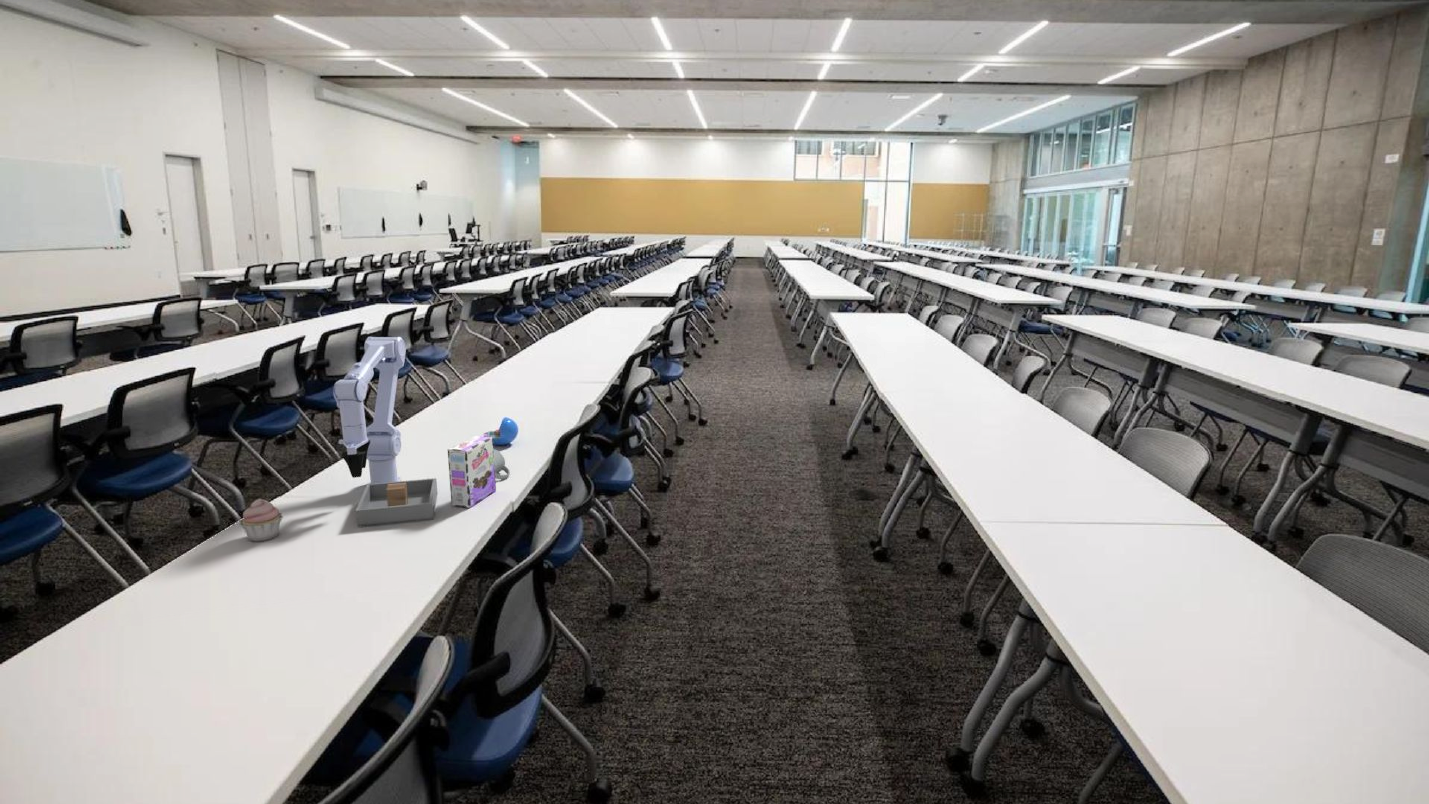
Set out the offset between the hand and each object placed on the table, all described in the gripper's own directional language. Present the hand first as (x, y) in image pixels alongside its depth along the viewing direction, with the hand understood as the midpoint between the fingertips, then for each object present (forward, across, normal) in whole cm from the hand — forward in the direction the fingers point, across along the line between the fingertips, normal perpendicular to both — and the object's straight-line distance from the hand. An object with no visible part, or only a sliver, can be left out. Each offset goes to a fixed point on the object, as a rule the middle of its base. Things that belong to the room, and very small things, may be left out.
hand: (359, 472), depth 201 cm
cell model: (+10, -48, +38) cm, 62 cm away
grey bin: (+9, +6, +10) cm, 15 cm away
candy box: (+10, +3, +29) cm, 31 cm away
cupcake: (+10, +16, -20) cm, 27 cm away
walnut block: (+9, +6, +10) cm, 14 cm away
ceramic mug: (+10, -15, +34) cm, 38 cm away
